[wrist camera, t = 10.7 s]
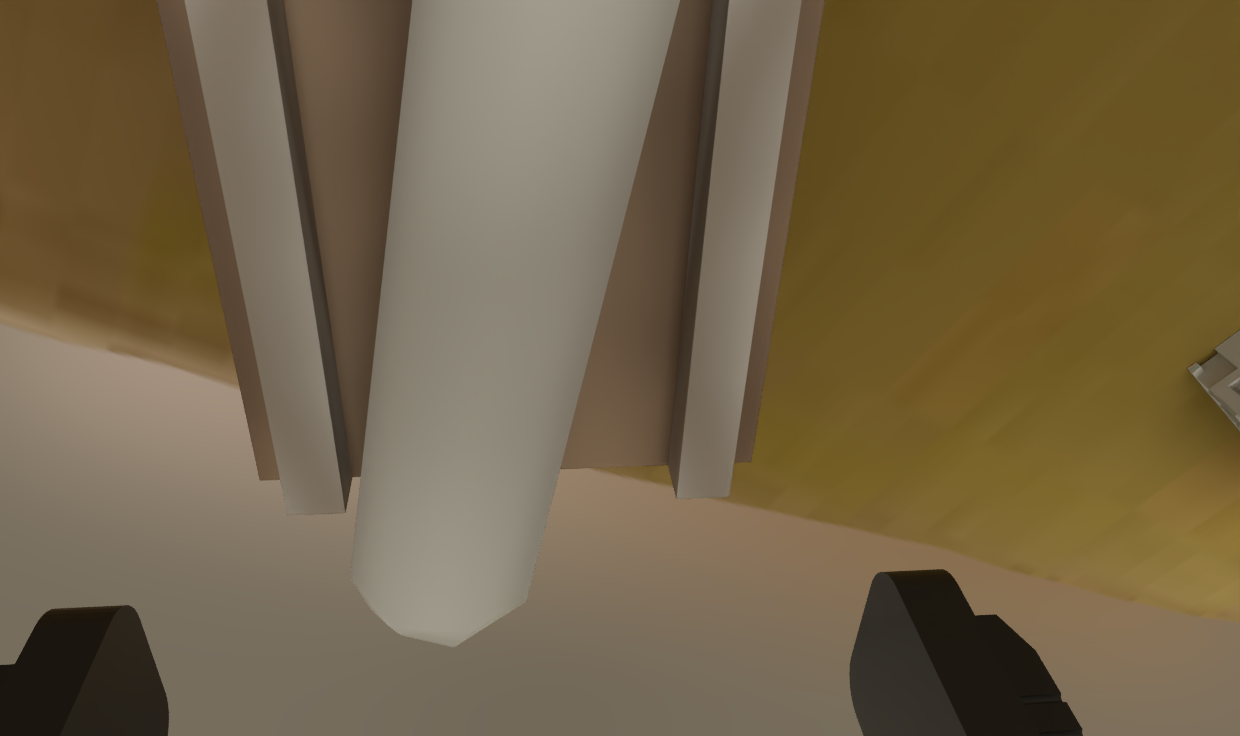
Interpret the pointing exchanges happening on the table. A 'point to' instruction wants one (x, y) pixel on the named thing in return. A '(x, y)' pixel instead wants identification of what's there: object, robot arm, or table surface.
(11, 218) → the table surface
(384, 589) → the tube
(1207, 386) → the circuit breaker
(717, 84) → the stand
